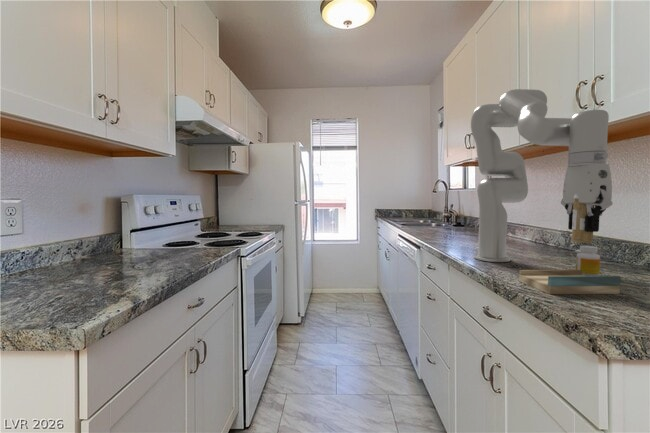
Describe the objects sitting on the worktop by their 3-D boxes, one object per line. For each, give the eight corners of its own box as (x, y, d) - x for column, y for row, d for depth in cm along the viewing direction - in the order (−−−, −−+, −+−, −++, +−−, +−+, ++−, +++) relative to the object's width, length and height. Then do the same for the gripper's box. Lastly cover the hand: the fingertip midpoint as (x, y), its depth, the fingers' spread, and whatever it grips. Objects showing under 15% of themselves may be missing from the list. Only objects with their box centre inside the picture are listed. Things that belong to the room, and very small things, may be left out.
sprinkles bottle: (589, 244, 77) (592, 190, 76) (567, 241, 81) (570, 191, 80) (596, 242, 79) (599, 191, 78) (574, 240, 83) (577, 191, 82)
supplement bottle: (604, 281, 88) (606, 248, 88) (585, 281, 88) (587, 248, 88) (588, 276, 94) (590, 245, 93) (570, 276, 94) (572, 245, 93)
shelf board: (518, 280, 89) (519, 266, 88) (579, 280, 89) (580, 265, 89) (549, 294, 77) (550, 277, 76) (619, 293, 77) (620, 276, 77)
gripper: (634, 156, 70) (629, 234, 71) (573, 164, 87) (570, 227, 88) (602, 156, 70) (598, 234, 71) (547, 163, 87) (545, 227, 88)
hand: (582, 229), depth 80 cm, fingers closed on sprinkles bottle, 4 cm apart
